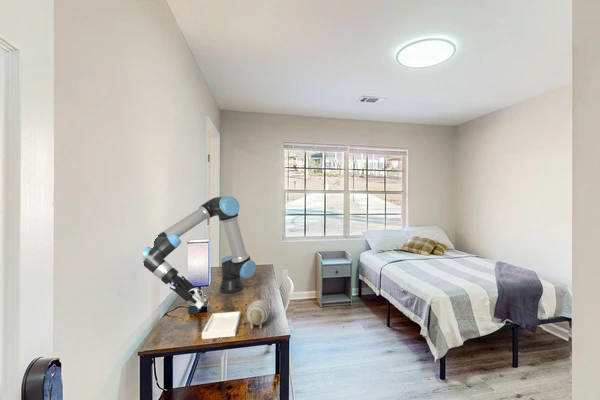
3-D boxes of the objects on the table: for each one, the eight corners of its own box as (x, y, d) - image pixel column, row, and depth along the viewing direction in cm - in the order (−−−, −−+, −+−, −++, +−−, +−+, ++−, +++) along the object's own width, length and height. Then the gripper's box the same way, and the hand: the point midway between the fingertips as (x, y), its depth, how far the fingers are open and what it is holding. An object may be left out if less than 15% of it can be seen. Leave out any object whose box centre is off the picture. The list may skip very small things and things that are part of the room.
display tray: (212, 318, 129) (212, 313, 129) (240, 316, 130) (240, 311, 130) (201, 339, 109) (201, 333, 109) (235, 336, 110) (234, 330, 111)
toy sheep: (243, 333, 112) (243, 308, 112) (250, 317, 129) (250, 295, 129) (267, 332, 112) (266, 307, 113) (271, 316, 129) (270, 294, 129)
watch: (201, 313, 121) (200, 290, 121) (184, 314, 121) (183, 291, 121) (205, 308, 127) (205, 286, 127) (189, 309, 127) (189, 287, 127)
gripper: (168, 273, 131) (202, 302, 133) (152, 285, 113) (192, 318, 115) (178, 262, 132) (212, 291, 134) (164, 272, 114) (203, 305, 116)
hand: (203, 303), depth 124 cm, fingers closed on watch, 5 cm apart
